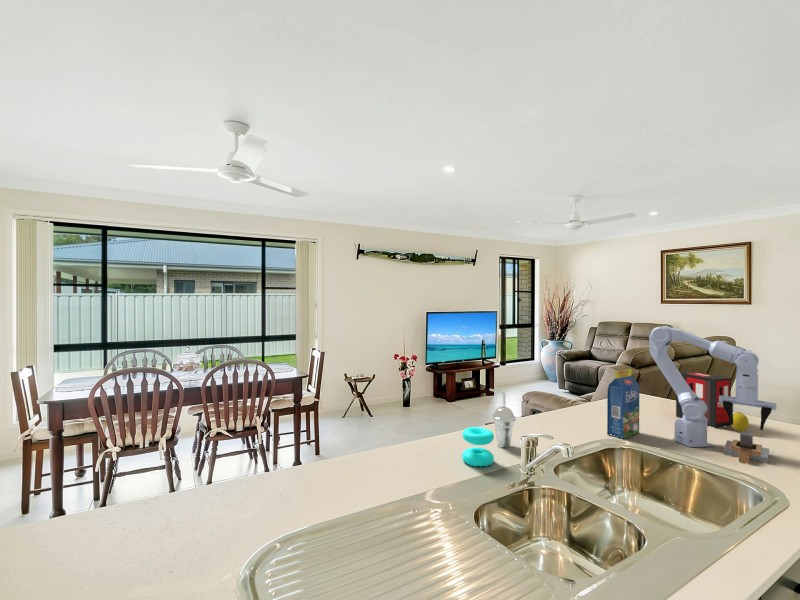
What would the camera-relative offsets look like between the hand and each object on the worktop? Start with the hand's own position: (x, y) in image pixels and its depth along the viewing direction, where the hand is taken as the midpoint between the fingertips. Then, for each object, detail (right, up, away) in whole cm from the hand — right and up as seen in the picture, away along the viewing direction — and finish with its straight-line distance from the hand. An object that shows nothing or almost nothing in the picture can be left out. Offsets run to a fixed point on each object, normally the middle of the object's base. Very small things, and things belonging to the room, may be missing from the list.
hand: (746, 426), depth 133 cm
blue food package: (-31, -9, +19) cm, 38 cm away
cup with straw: (-81, -9, +7) cm, 82 cm away
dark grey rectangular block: (0, -9, 0) cm, 9 cm away
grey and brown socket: (-2, -9, -2) cm, 10 cm away
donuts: (-93, -9, -7) cm, 94 cm away
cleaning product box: (+13, -10, +36) cm, 40 cm away
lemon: (+17, -10, +22) cm, 30 cm away
